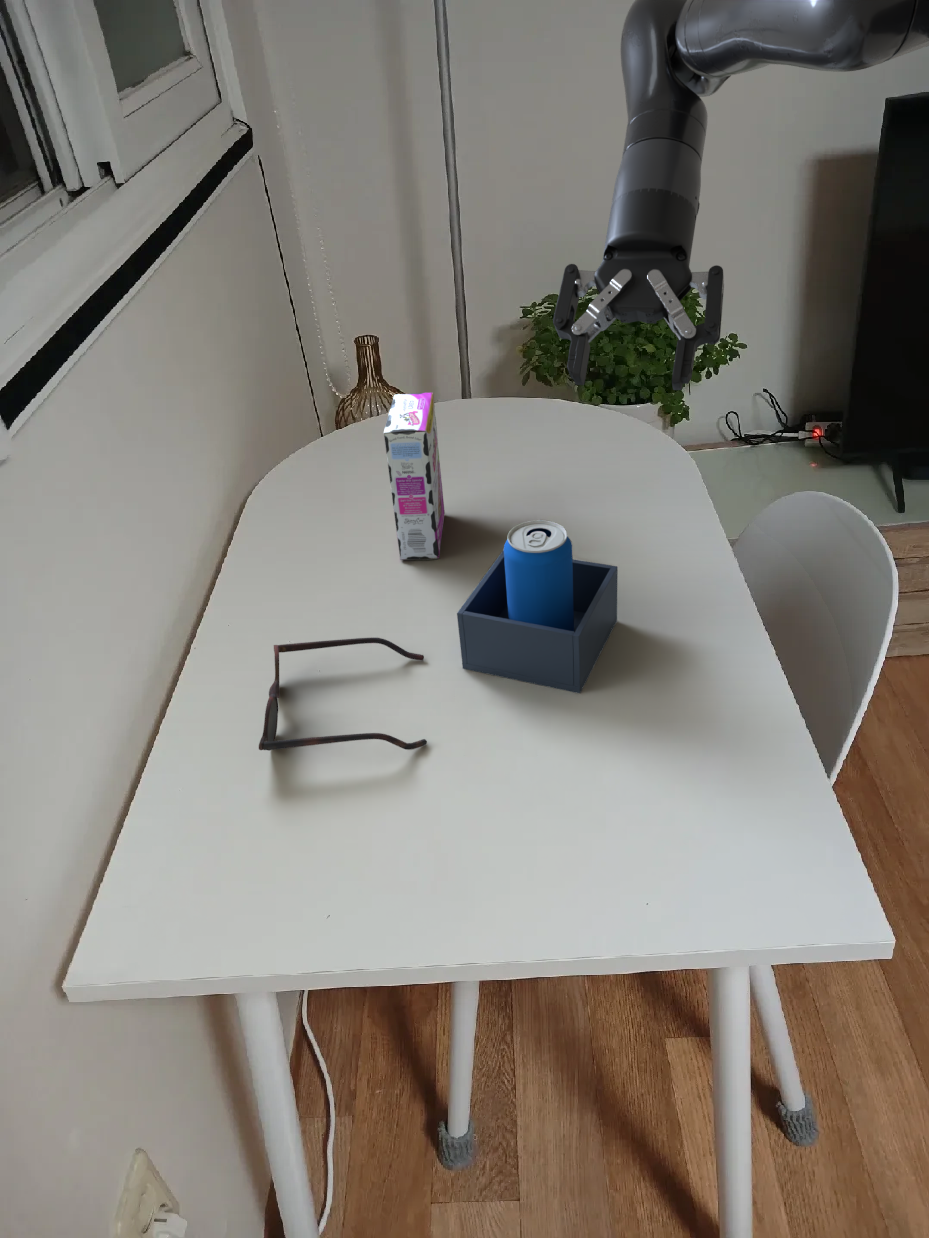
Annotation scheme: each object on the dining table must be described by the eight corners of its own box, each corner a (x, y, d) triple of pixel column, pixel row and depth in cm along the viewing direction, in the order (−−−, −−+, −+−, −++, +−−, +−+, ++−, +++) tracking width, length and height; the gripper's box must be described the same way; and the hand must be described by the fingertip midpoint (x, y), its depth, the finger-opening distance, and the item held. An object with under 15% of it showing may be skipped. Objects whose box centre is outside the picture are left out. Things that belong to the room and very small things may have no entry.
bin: (617, 621, 99) (617, 566, 95) (580, 693, 90) (579, 636, 86) (507, 601, 103) (504, 548, 99) (462, 668, 95) (456, 613, 91)
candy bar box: (442, 560, 111) (427, 430, 102) (399, 562, 112) (380, 433, 102) (447, 513, 120) (434, 389, 111) (408, 515, 121) (391, 392, 111)
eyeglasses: (278, 669, 97) (268, 630, 94) (423, 653, 97) (418, 613, 94) (264, 771, 85) (252, 729, 82) (430, 752, 85) (424, 710, 82)
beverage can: (579, 621, 98) (577, 520, 91) (567, 660, 93) (564, 556, 86) (518, 615, 100) (511, 515, 93) (503, 653, 95) (495, 550, 88)
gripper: (567, 186, 83) (537, 362, 81) (736, 183, 78) (709, 369, 76) (581, 234, 90) (554, 397, 88) (737, 233, 85) (713, 405, 83)
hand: (626, 384), depth 82 cm, fingers open, 8 cm apart
